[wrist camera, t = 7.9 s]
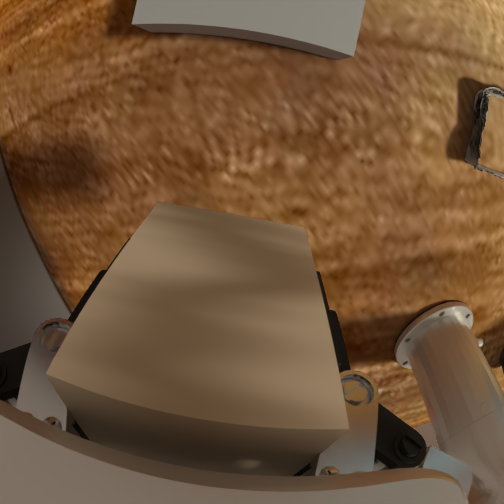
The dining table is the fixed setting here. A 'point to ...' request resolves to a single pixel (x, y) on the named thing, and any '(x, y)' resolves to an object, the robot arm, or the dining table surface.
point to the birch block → (207, 348)
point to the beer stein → (502, 359)
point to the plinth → (261, 21)
